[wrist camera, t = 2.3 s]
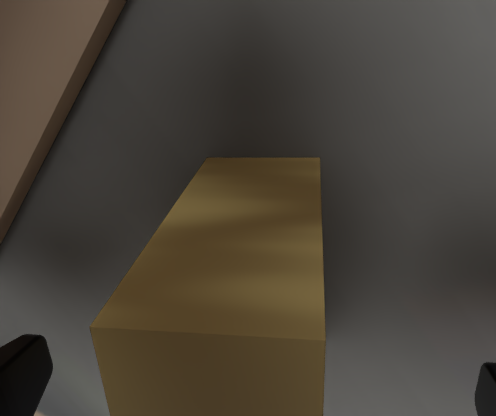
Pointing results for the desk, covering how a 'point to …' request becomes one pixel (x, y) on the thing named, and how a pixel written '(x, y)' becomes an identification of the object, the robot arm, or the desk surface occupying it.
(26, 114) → the socket holder
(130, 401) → the keyed peg
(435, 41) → the desk surface
